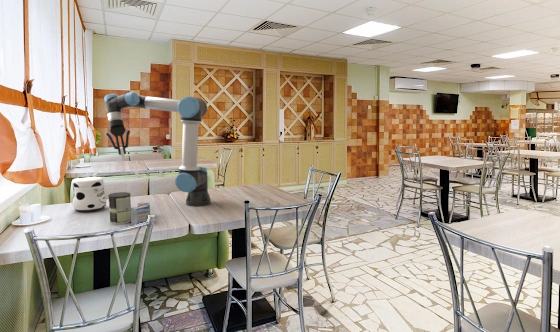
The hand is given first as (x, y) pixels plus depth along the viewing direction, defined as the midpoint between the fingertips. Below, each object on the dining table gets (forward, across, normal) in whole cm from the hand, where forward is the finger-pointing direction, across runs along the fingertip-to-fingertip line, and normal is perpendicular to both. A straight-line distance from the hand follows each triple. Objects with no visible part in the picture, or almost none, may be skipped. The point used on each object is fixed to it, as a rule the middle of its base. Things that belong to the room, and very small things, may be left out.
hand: (123, 159), depth 199 cm
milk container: (+23, +23, -14) cm, 36 cm away
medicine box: (+39, -2, +26) cm, 47 cm away
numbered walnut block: (+35, -4, +14) cm, 38 cm away
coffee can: (+35, +7, +18) cm, 40 cm away
